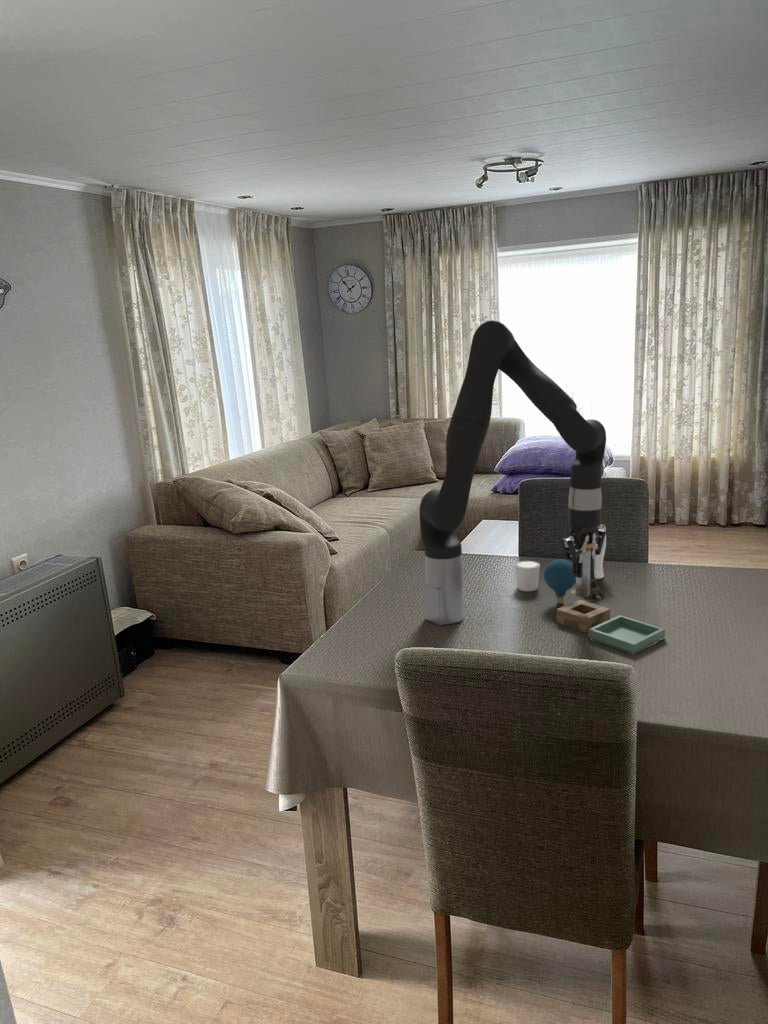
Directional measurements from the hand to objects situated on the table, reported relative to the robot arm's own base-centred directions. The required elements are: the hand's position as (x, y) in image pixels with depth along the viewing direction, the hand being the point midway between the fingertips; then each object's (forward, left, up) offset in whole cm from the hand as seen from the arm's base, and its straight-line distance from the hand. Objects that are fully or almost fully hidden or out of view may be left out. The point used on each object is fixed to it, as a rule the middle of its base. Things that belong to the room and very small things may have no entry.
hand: (583, 574), depth 174 cm
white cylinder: (+10, +26, -13) cm, 31 cm away
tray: (0, -13, -13) cm, 18 cm away
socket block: (+1, 0, -13) cm, 13 cm away
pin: (0, 0, -5) cm, 5 cm away
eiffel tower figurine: (+17, +10, -13) cm, 24 cm away
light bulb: (+7, +12, -13) cm, 19 cm away
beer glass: (+30, +19, -13) cm, 38 cm away
